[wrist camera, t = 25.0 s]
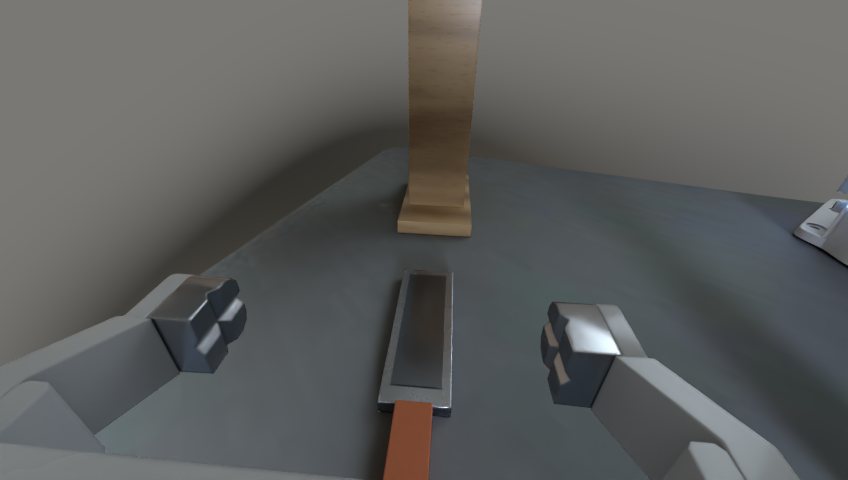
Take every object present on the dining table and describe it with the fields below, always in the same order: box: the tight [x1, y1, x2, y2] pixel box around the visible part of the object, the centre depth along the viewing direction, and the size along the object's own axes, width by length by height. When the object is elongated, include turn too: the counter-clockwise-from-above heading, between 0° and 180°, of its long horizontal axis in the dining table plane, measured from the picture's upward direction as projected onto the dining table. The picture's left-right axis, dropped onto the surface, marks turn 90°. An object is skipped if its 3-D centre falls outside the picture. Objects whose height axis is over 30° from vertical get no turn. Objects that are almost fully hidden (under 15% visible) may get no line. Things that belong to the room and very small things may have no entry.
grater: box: [377, 269, 453, 480], centre depth 22 cm, size 22×4×1 cm, turn 176°
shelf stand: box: [397, 0, 482, 237], centre depth 38 cm, size 14×8×26 cm, turn 175°
